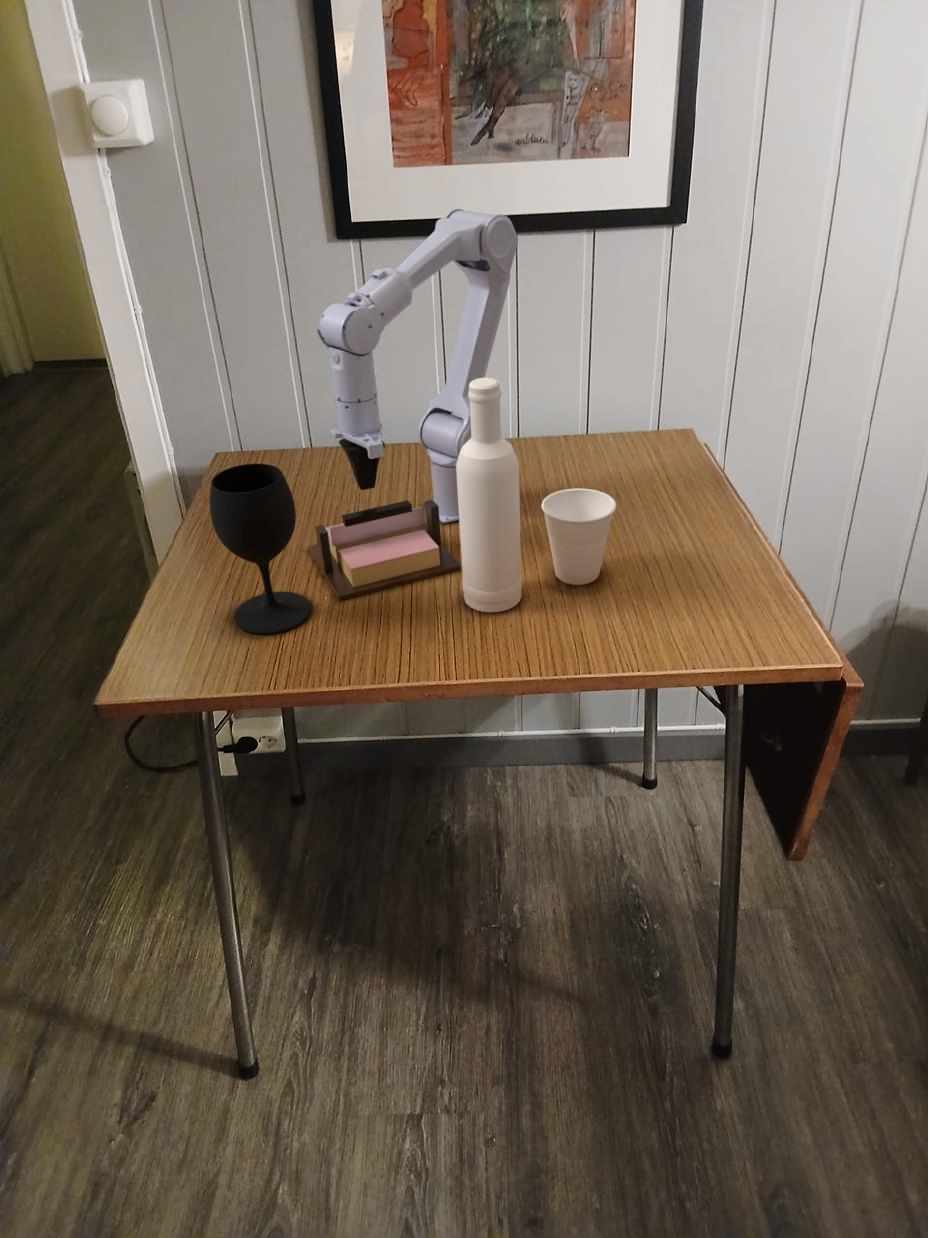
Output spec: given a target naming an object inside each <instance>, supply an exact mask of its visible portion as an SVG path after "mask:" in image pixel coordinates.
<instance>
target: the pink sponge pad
mask: <svg viewBox="0 0 928 1238" xmlns="http://www.w3.org/2000/svg"><path fill="white" fill-rule="evenodd" d="M340 525H344V524H343V523H339V524H335V525H330V526H326V527H325V529H326V530H327V532H328V537H329V544H330V551H331V553H332V555H333V557H334V558H335V560H336V561H337V563H340V564H341V569H342V570H343V572H344V573H345V575H346V577H347V578H348V580H349V581H350V583H351V584H352V586H353V587H357V586H361V585H365V584H369V583H373V582H376V581H380V580H384V579H388V578H392V577H396V576H400V575H404V574H408V573H412V572H416V571H420V570H424V569H428V568H432V567H436V566H440V556H439V547H438V545H437V544H436V543H435V542H434V541H433V540H432V538H431V537H430V536H429V535H428V534H427V533H426V532H425V530H420V525H419V526H415V527H411V528H407V529H403V530H398V531H394V532H390V533H386V534H382V535H377V536H373V537H369V538H365V539H361V540H356V541H352V542H348V543H344V544H340V545H335V546H333V544H332V537H331V530H330V528H331V527H336V526H340Z"/></svg>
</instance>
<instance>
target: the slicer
mask: <svg viewBox="0 0 928 1238" xmlns="http://www.w3.org/2000/svg"><path fill="white" fill-rule="evenodd" d="M433 500H434V499H430V500H425V501H424V503H425V504H424V505H425V506H424V507H425V517H426V518H425V520H426V524H424V525H420V530H425V532H426V533H427V534H428V535H429V536H430V537H431V538H432V540H433V541H434V542H435V543H436V544H437V545H438V547H439V556H440V566H436V567H432V568H428V569H424V570H420V571H416V572H412V573H408V574H404V575H400V576H396V577H392V578H388V579H384V580H380V581H376V582H373V583H369V584H365V585H361V586H357V587H353V586H352V584H351V583H350V581H349V580H348V578H347V577H346V575H345V573H344V572H343V570H342V569H341V564H340V563H337V561H336V560H335V558H334V557H333V555H332V553H331V551H330V544H329V537H328V532H327V530H326V529H325V528H326V527H325V526H324V524H321V525H317V526H315V527H314V529H315V536H316V544H312V545H309V546H307V548H308V552H309V553H310V555H311V556H312V558H313V560H314V562H315V564H316V565H317V567H318V568H319V570H320V572H321V573H322V574H323V576H324V578H325V580H326V582H327V583H328V585H329V587H330V588H331V590H332V592H333V593H334V595H335V596H336V598H337V600H338V601H339V602H340V601H344V600H348V599H352V598H355V597H360V596H364V595H367V594H372V593H375V592H380V591H382V590H388V589H392V588H395V587H398V586H403V585H406V584H410V583H414V582H419V581H422V580H427V579H429V578H434V577H437V576H441V575H445V574H450V573H453V572H457V571H460V570H461V567H460V566H461V565H460V564H459V562H458V561H457V560H456V559H455V558H454V557H453V556H452V555H451V554H450V552H449V551H448V550H447V548H445V547H444V545H443V544H442V538H441V537H442V536H441V521H440V520H439V506H438V505H437V504H436V503H435V502H434V501H433Z"/></svg>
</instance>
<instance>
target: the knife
mask: <svg viewBox="0 0 928 1238" xmlns="http://www.w3.org/2000/svg"><path fill="white" fill-rule="evenodd" d="M412 505H413V504H412V503H411V501H410V500H408V499H406V500H403V501H398V502H394V503H389V504H385V505H380V506H376V507H372V508H367V509H363V510H359V511H355V512H350V513H349V512H348V513H345V514H341V521H342V524H344V525H340V526H336V527H331V528H330V530H331V537H332V544H333V546H335V545H340V544H344V543H348V542H352V541H356V540H361V539H365V538H369V537H373V536H377V535H382V534H386V533H390V532H394V531H398V530H403V529H407V528H411V527H415V526H419V525H426V518H425V517H426V515H425V506H424V505H422V506H418V507H414V508H413V506H412Z"/></svg>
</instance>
